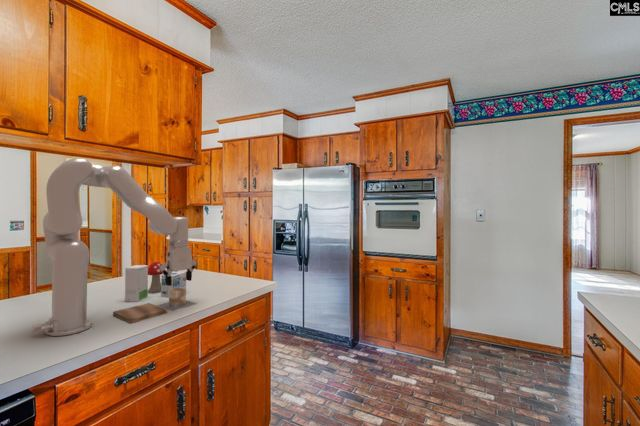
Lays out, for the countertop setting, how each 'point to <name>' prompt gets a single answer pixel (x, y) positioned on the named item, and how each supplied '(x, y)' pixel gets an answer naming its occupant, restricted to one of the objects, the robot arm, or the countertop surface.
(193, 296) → the countertop surface
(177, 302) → the birch block
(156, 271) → the decorative mushroom
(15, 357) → the countertop surface
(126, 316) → the walnut board
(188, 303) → the mat
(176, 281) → the light bulb box
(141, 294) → the skincare box
